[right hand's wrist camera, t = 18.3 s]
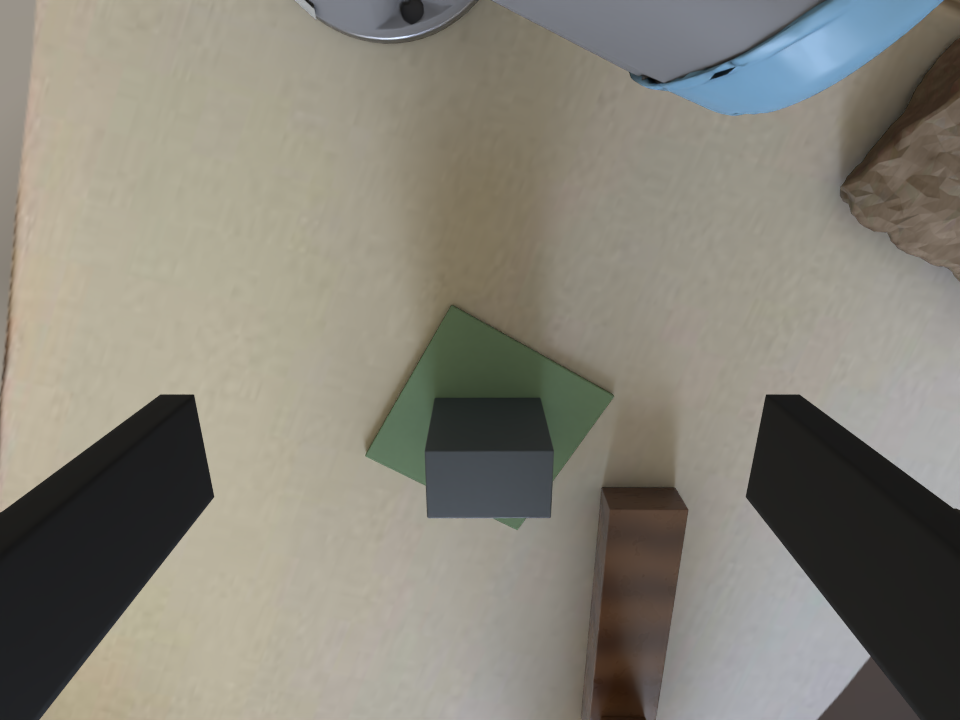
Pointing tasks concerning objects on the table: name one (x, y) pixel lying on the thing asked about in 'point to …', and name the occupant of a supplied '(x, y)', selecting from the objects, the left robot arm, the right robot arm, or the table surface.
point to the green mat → (484, 393)
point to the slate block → (488, 459)
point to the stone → (917, 171)
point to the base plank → (632, 601)
